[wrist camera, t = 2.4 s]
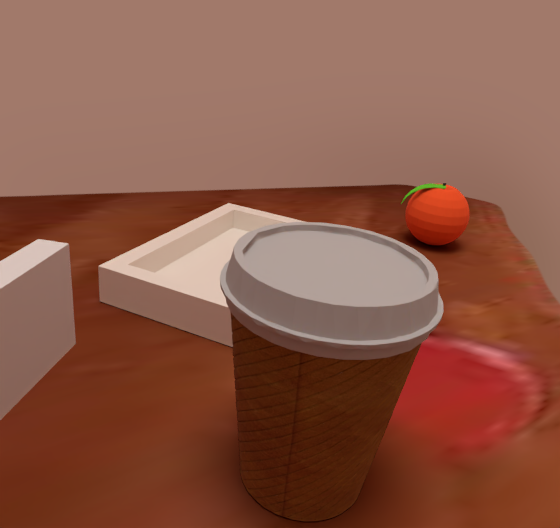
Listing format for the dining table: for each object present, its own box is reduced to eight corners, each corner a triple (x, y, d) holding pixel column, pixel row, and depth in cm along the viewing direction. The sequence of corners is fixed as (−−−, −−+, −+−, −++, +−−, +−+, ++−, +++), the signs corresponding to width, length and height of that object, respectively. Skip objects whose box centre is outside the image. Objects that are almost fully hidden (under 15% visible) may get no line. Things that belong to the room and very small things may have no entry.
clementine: (404, 253, 56) (418, 190, 53) (383, 230, 63) (394, 172, 60) (472, 256, 58) (489, 194, 55) (445, 233, 64) (459, 176, 61)
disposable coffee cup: (294, 388, 33) (320, 207, 28) (428, 478, 27) (489, 271, 22) (169, 461, 27) (174, 242, 22) (310, 600, 21) (360, 345, 16)
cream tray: (99, 301, 40) (98, 266, 39) (226, 229, 57) (228, 203, 56) (346, 386, 34) (354, 347, 33) (407, 276, 51) (413, 248, 50)
